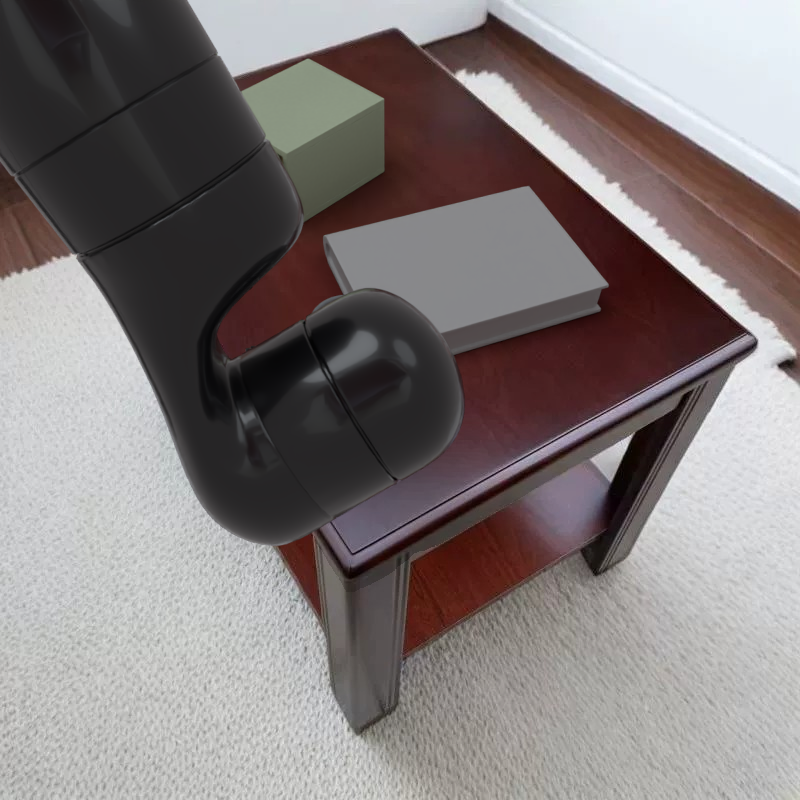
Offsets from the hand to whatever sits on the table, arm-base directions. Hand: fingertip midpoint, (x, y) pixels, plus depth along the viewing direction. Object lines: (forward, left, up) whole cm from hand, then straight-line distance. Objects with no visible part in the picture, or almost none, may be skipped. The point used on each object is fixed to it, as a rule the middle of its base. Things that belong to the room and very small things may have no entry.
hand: (348, 355), depth 60 cm
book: (+11, +17, -9) cm, 22 cm away
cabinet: (-6, +36, -9) cm, 38 cm away
